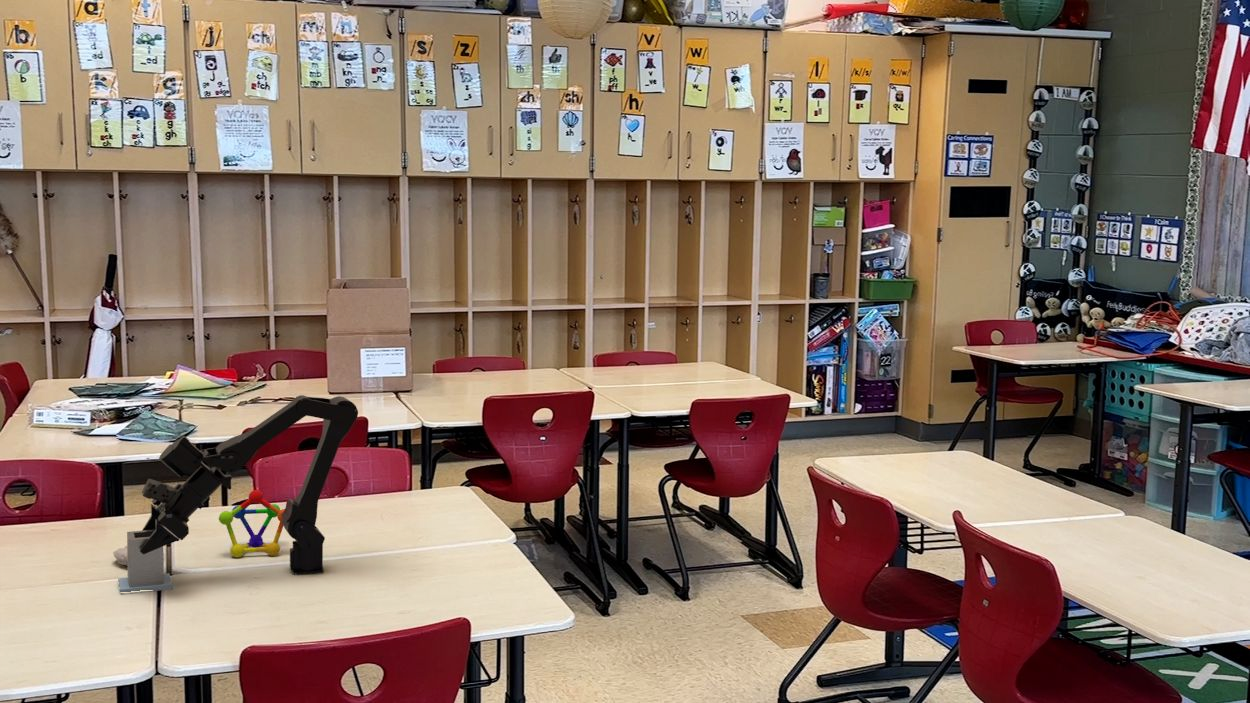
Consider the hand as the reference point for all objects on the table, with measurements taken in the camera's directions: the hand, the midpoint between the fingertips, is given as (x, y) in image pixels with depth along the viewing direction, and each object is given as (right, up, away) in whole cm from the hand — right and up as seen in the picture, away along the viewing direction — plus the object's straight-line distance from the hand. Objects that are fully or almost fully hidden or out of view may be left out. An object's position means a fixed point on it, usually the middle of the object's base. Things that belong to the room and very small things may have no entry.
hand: (140, 546), depth 242 cm
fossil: (-8, -7, +17) cm, 20 cm away
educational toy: (+14, -6, +28) cm, 32 cm away
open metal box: (+1, -7, +1) cm, 8 cm away
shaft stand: (+1, -8, +1) cm, 9 cm away
